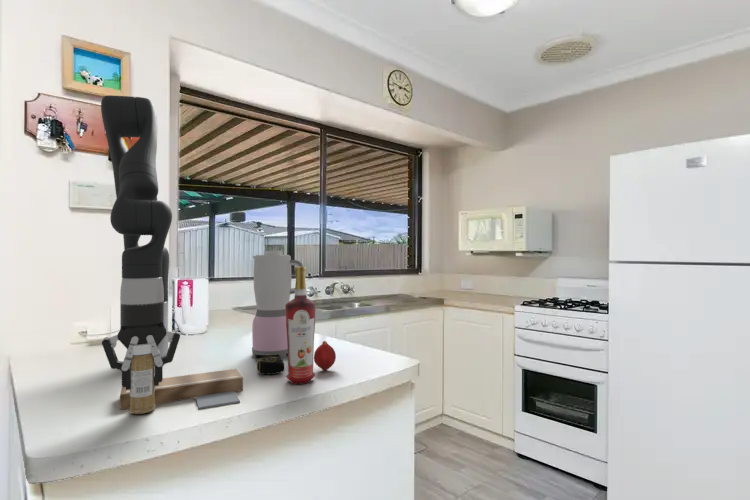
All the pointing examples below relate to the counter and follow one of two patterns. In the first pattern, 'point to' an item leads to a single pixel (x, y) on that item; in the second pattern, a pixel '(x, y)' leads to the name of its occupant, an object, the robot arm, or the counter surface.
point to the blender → (271, 302)
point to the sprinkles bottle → (142, 380)
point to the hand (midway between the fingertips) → (142, 386)
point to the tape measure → (270, 365)
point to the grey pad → (217, 399)
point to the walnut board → (191, 386)
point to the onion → (324, 356)
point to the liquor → (300, 332)
